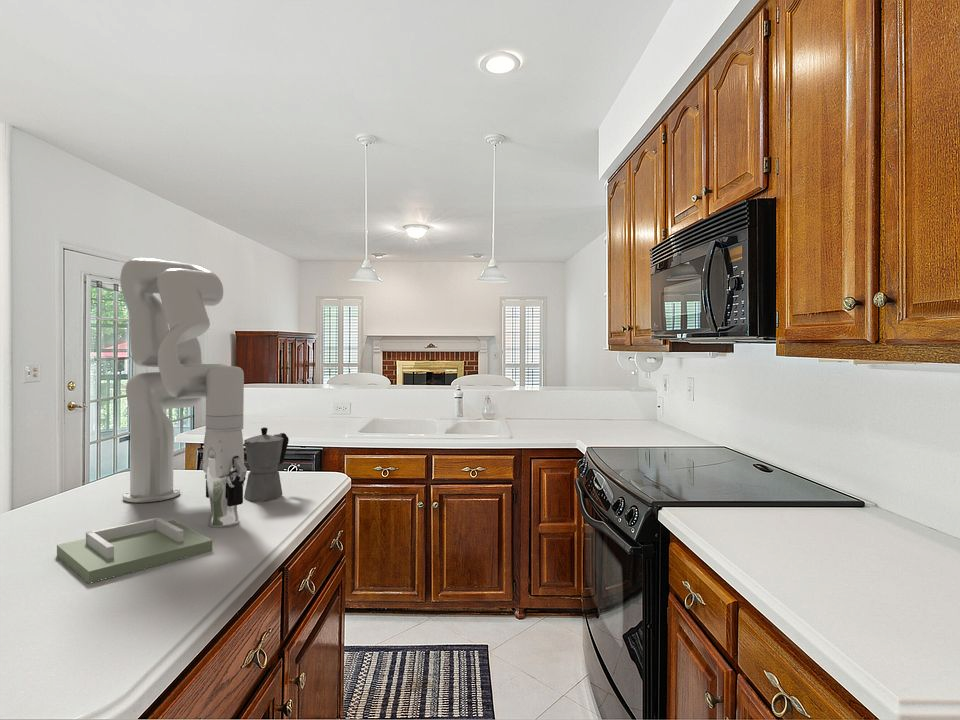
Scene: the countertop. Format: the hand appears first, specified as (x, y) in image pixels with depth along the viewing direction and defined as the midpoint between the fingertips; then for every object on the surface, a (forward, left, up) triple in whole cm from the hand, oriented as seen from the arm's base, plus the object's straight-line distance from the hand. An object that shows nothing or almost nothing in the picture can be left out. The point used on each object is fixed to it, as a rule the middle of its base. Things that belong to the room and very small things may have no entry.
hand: (224, 500), depth 122 cm
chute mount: (+5, -19, -5) cm, 20 cm away
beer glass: (0, 0, -5) cm, 5 cm away
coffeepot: (-14, +18, -5) cm, 23 cm away
